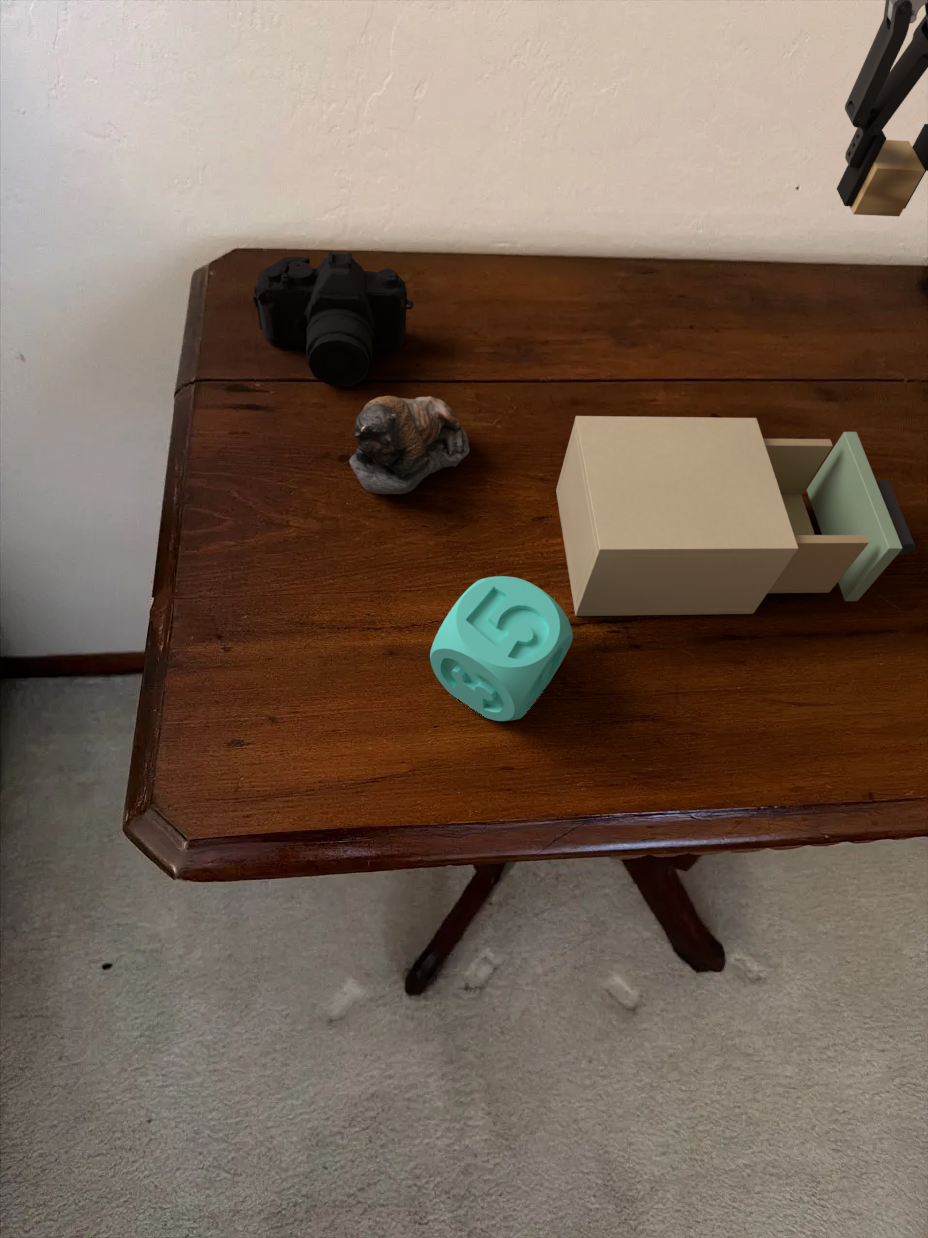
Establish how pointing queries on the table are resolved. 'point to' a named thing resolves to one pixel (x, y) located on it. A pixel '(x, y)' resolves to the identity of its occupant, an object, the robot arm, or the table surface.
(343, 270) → the film camera
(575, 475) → the cabinet
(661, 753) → the table surface
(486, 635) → the decorative dice
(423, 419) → the bison figurine
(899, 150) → the block
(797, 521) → the drawer
